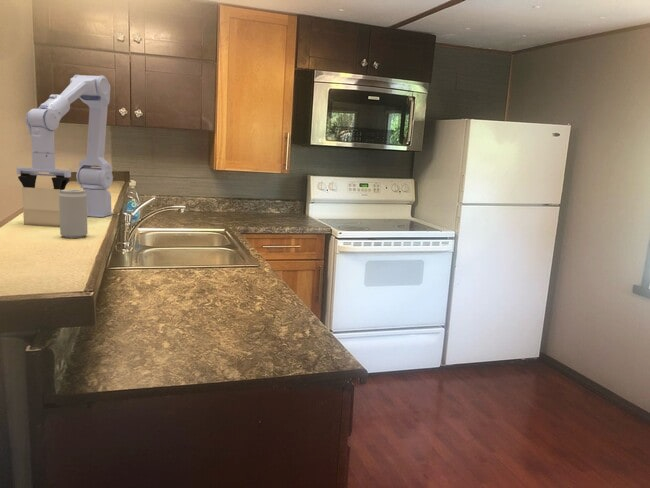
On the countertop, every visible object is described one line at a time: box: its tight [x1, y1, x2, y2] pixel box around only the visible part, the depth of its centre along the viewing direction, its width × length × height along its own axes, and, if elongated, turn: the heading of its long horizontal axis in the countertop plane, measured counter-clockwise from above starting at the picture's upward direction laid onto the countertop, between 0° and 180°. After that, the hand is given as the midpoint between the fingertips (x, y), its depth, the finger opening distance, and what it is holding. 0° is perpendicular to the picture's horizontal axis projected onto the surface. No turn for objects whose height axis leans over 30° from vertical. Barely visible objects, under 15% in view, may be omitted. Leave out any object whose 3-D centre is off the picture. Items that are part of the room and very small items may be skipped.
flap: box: [21, 186, 60, 211], centre depth 152 cm, size 6×11×1 cm
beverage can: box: [59, 189, 89, 239], centre depth 140 cm, size 6×6×12 cm
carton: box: [22, 208, 60, 228], centre depth 156 cm, size 6×11×4 cm, turn 88°
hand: (44, 201), depth 154 cm, fingers open, 7 cm apart
